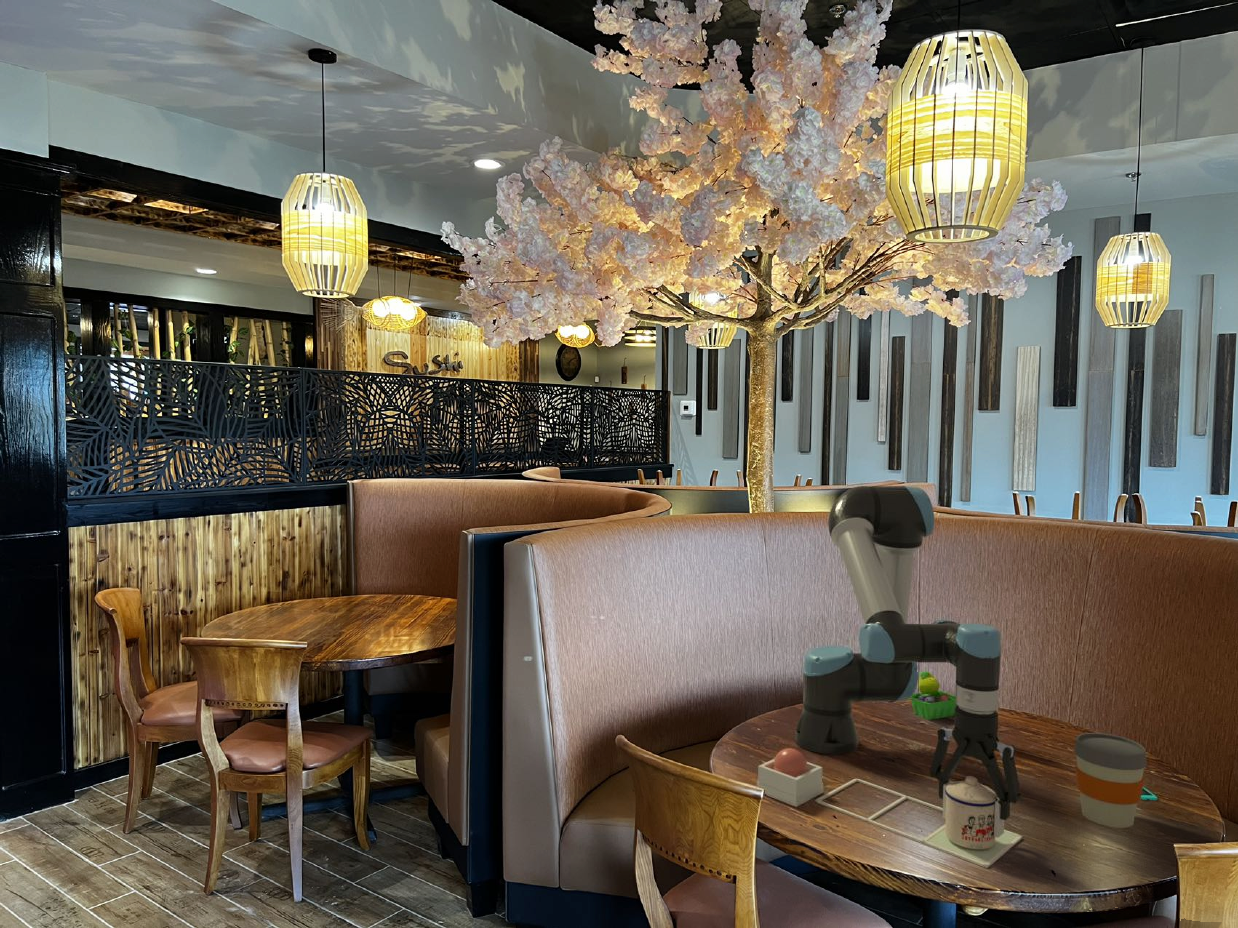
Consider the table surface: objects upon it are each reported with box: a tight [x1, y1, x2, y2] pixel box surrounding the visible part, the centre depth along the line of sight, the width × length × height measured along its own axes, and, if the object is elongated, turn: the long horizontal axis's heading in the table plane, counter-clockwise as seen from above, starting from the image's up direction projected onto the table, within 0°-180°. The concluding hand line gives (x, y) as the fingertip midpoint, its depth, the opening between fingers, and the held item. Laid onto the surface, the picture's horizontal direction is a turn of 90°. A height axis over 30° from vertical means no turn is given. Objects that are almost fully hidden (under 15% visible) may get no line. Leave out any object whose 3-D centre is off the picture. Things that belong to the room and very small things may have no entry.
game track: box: [814, 777, 1023, 869], centre depth 166 cm, size 35×16×1 cm, turn 44°
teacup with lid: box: [945, 775, 999, 849], centre depth 157 cm, size 12×9×12 cm
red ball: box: [773, 747, 808, 778], centre depth 178 cm, size 7×7×7 cm
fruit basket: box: [909, 670, 957, 721], centre depth 228 cm, size 11×9×11 cm
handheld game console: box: [1141, 786, 1158, 801], centre depth 184 cm, size 10×16×1 cm, turn 178°
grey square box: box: [756, 758, 824, 808], centre depth 178 cm, size 10×10×6 cm
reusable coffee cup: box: [1073, 732, 1148, 829], centre depth 168 cm, size 13×13×15 cm
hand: (972, 825), depth 158 cm, fingers closed on teacup with lid, 9 cm apart
